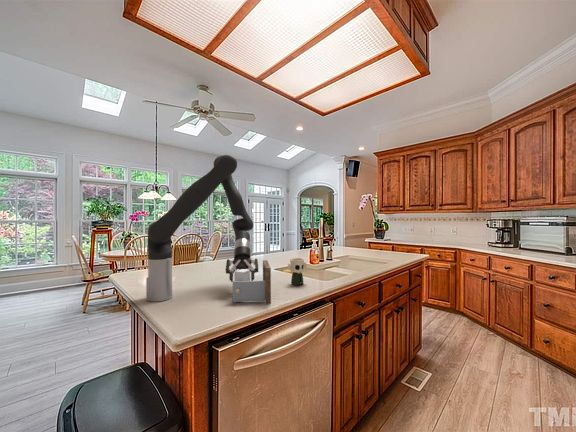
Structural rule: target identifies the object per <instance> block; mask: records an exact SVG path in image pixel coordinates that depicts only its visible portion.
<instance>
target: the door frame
mask: <svg viewBox="0 0 576 432" xmlns="http://www.w3.org/2000/svg"><path fill="white" fill-rule="evenodd" d="M271 270H272V268H271V265H270V264H269V262H268V259H266V260H265V259H263V260H262V281H265V291H266V301H265V304H266V305H270V304H272V291H271V290H272V283H271V282H272V280H271V279H272V273H271Z"/></svg>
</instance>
